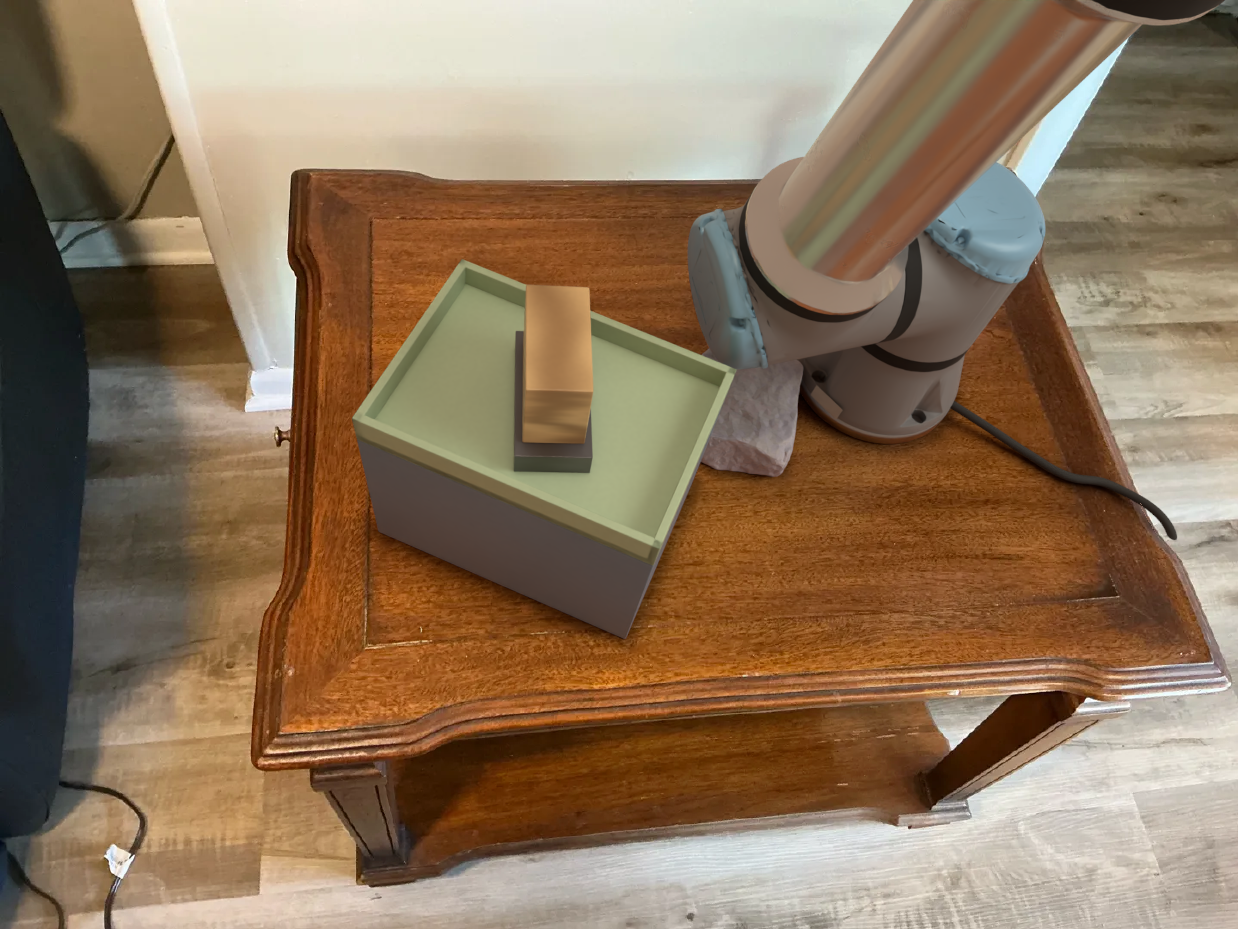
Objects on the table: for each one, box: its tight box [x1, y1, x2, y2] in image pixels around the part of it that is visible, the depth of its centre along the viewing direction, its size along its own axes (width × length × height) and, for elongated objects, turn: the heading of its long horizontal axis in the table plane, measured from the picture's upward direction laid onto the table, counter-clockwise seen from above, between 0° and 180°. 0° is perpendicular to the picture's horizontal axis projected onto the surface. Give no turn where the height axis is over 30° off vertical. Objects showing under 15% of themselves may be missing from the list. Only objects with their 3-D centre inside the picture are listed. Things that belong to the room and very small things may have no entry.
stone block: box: [700, 347, 803, 478], centre depth 82 cm, size 12×5×10 cm
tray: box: [351, 258, 736, 566], centre depth 63 cm, size 21×15×3 cm
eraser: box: [513, 284, 594, 473], centre depth 60 cm, size 5×10×8 cm, turn 3°
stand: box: [356, 395, 727, 640], centre depth 70 cm, size 21×15×14 cm
